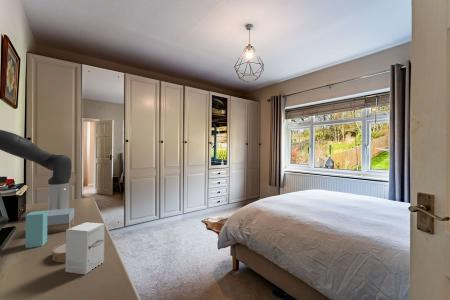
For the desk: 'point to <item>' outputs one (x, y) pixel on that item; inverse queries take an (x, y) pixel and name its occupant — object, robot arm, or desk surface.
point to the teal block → (36, 229)
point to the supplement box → (84, 247)
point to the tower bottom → (60, 226)
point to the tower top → (59, 216)
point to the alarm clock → (59, 252)
